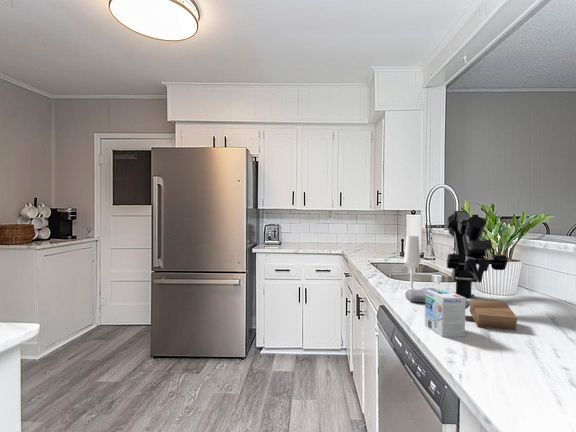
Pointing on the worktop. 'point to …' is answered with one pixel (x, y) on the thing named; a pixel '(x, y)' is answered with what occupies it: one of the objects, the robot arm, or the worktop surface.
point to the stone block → (417, 294)
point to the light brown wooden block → (493, 315)
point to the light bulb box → (445, 313)
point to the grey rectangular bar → (469, 318)
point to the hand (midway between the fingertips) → (480, 281)
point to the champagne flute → (412, 256)
